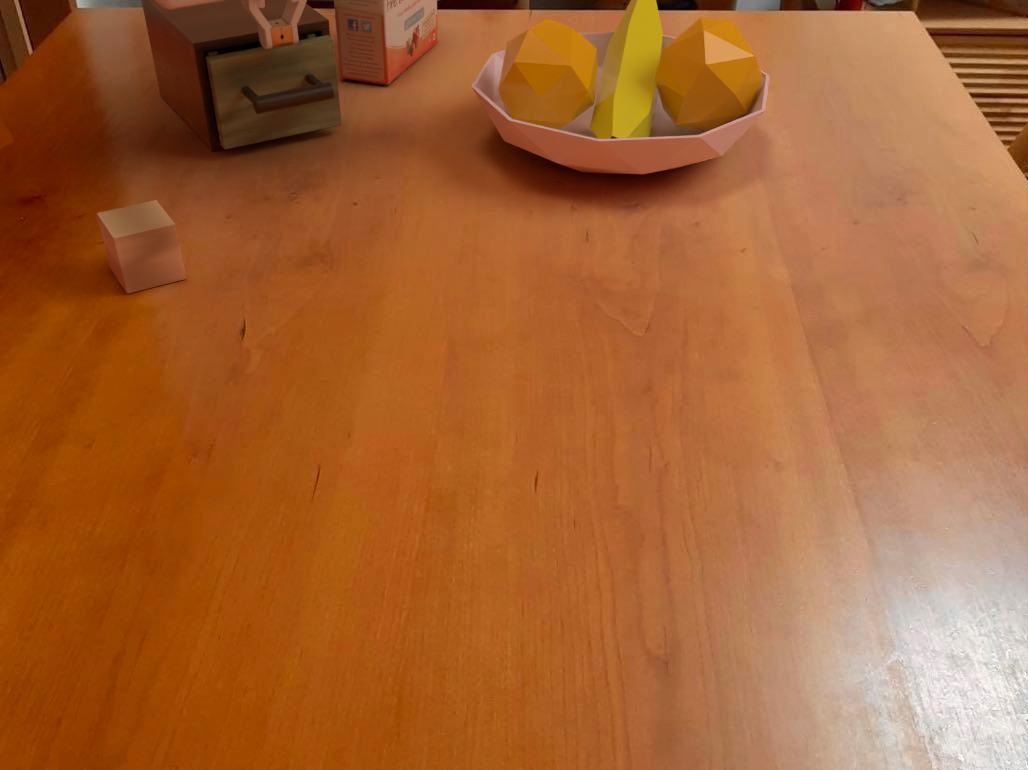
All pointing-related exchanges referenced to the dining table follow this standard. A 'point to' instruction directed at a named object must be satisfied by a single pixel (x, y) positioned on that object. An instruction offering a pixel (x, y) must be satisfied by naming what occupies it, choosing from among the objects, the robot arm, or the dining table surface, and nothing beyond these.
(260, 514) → the dining table surface
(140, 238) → the block
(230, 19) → the cabinet
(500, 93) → the fruit bowl
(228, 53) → the drawer
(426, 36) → the cracker box
